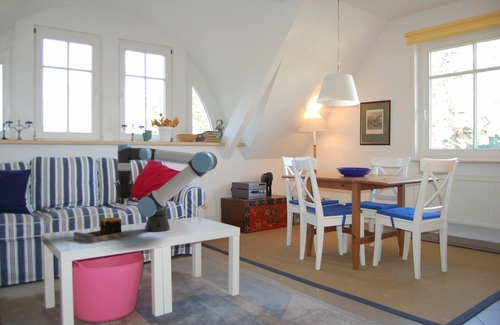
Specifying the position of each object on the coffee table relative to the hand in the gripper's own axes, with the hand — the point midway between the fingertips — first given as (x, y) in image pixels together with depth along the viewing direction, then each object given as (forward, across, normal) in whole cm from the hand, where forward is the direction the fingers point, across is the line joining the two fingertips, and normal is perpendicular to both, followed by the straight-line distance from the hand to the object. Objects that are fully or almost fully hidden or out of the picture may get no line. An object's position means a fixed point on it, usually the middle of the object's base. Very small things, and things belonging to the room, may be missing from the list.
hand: (124, 209), depth 238 cm
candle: (+15, +10, 0) cm, 18 cm away
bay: (+14, +16, 0) cm, 21 cm away
